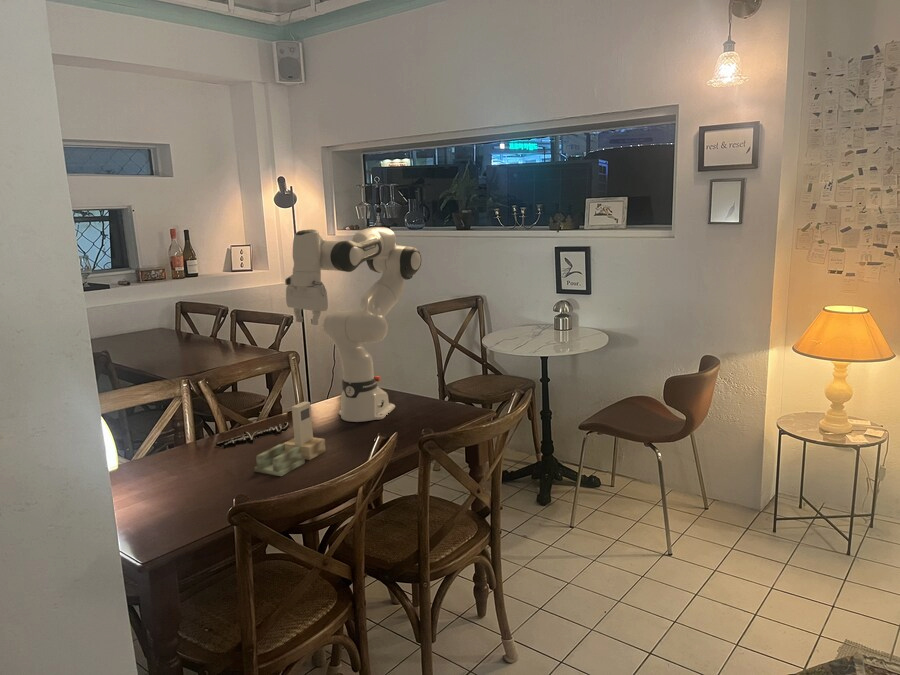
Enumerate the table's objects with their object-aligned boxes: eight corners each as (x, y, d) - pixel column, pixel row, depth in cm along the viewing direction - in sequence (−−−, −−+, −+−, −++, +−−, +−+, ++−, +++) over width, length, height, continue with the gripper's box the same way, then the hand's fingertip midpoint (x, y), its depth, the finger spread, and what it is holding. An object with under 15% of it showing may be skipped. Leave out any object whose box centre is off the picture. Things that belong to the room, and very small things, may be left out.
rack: (278, 458, 210) (277, 443, 209) (304, 462, 206) (303, 447, 205) (254, 471, 201) (252, 455, 200) (281, 476, 196) (279, 460, 195)
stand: (300, 447, 220) (299, 435, 219) (325, 451, 215) (324, 439, 214) (284, 455, 213) (283, 443, 212) (310, 459, 208) (309, 447, 207)
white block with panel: (306, 437, 216) (303, 401, 214) (313, 438, 215) (310, 402, 213) (294, 443, 211) (291, 406, 209) (301, 445, 210) (298, 407, 208)
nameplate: (280, 419, 245) (297, 425, 238) (281, 424, 245) (298, 429, 238) (211, 441, 224) (228, 448, 218) (212, 446, 224) (228, 452, 218)
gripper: (332, 281, 213) (332, 325, 214) (299, 279, 227) (299, 320, 229) (315, 282, 208) (315, 326, 210) (282, 279, 223) (282, 321, 225)
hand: (306, 323), depth 220 cm, fingers open, 8 cm apart
